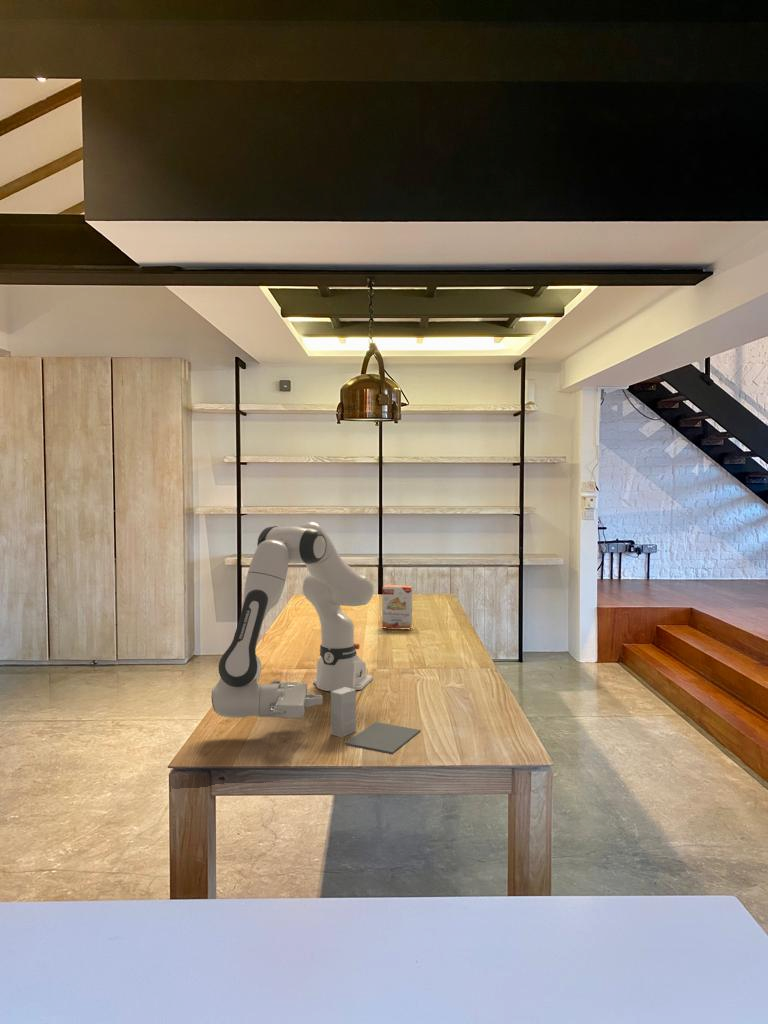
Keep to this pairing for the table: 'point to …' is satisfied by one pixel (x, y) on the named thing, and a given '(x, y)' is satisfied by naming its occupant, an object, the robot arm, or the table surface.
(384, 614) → the cracker box
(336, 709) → the skincare box
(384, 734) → the mat
